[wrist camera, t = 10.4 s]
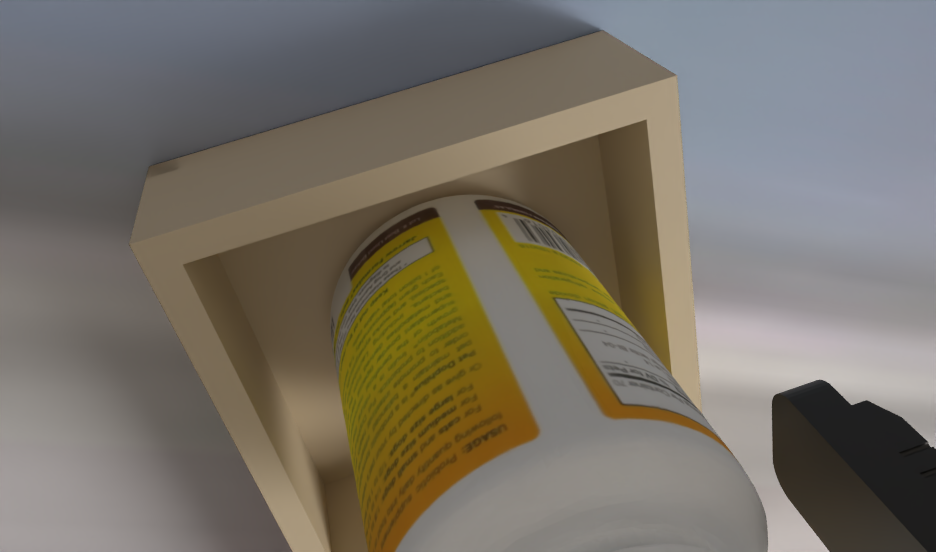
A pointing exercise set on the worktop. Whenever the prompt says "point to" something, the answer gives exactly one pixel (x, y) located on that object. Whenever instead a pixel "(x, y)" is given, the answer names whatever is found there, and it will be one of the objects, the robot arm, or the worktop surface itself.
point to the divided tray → (380, 199)
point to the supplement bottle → (517, 400)
